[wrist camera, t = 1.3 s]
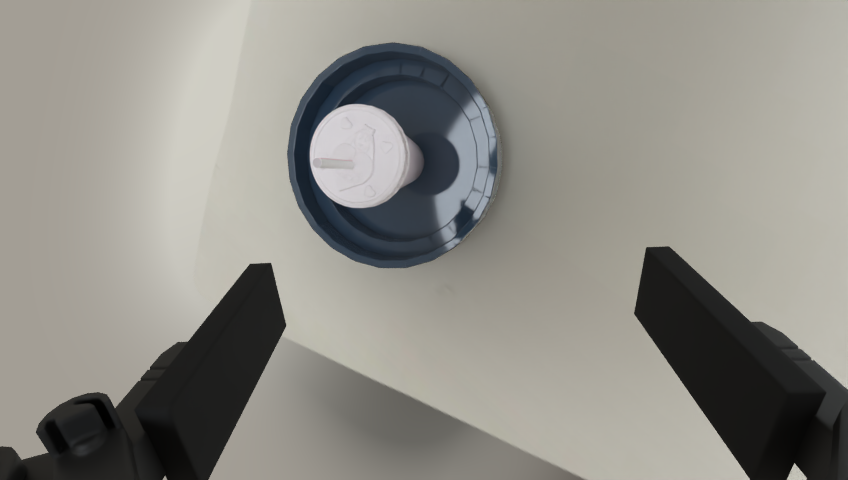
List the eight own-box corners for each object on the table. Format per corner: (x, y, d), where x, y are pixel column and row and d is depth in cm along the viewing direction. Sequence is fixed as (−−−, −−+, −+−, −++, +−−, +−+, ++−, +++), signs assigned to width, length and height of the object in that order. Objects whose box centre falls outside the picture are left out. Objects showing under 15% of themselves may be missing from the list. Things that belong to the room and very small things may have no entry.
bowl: (499, 47, 33) (493, 27, 29) (505, 256, 35) (500, 268, 31) (308, 72, 37) (277, 58, 33) (323, 258, 39) (297, 268, 35)
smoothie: (353, 177, 37) (249, 177, 24) (387, 107, 35) (295, 66, 22) (417, 214, 36) (346, 237, 23) (454, 145, 34) (402, 125, 21)
